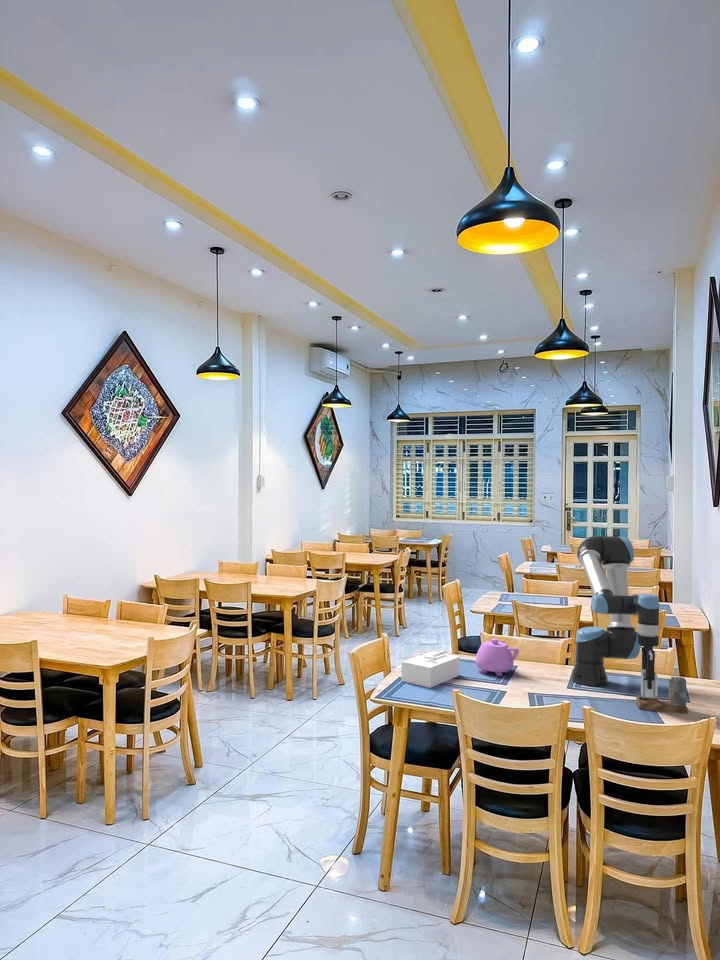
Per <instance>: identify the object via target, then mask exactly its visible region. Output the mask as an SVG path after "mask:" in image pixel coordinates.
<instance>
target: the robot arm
mask: <svg viewBox="0 0 720 960" xmlns="http://www.w3.org/2000/svg"><path fill="white" fill-rule="evenodd" d="M576 555H577V560H578V562H579V564H580V566H582V567H583V570H584V572H585V575H586V577H587V580H588V583H589V586H590V588H591V590H592V591H591V592H592V594H593V595H592V596H591V602H590V605H591V609H592V612H593V613H596V614H602V615H609V624H608V625H607V626H606V630H605V628H603V627H602V626H601V627H600V626H585V627H581V628H578V629H577V630H576V636H575V663H574V666H573V670H572V671H571V680H570V681H572V682H574V683H576V684H579V685H584V686H587V687H588V686H591V687H603V686H606V685H608V683H609V678H608V673H607V672H606V667H605V665H604V664H605V662H604V661H605V659H615V660H617V659H619V660H634V659H636V658H638V657H639V655H640V653H641V669H646V679H645V678H644V680H645V697H652V698H653V680H654V679H655V678H654V672H655V664H656V663H655V659H656V655H655V654H656V653H655V650H654V648H653V647H656V648H657V647H658V646H660V645H659V644H660V637H659V634H660V631H659V630H660V629H661V627H660V626H659V625H660V598H659V596H658V595H656V594H652V593H651V594H650V593H640V594H631V595H630V594H629V584H628V582H629V581H628V569H629V568H630V567H631V563H632V562H633V561H634V559H635V557H634V556H635V550H634V547H633V544H632V541H631V540H630V539H629V538H627V537H625V536H619V535H617V536H611V535H610V536H608V535H606V536H605V535H604V536H602V535H601V536H599V535H593V536H589V537H587V538H585V539H584V540H583V541H582V542H581V543H580V544H579V546H578V548H577V553H576ZM605 571H606V573H605ZM632 615H634V616H635V615H636V616H637V631H636V627H635V626H634V625H633V624H632V621H631V616H632ZM642 646H643V647H642Z"/></svg>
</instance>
